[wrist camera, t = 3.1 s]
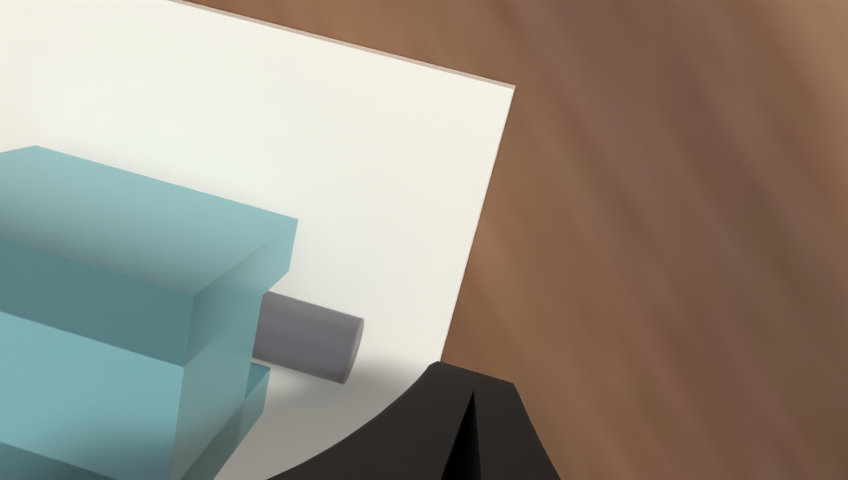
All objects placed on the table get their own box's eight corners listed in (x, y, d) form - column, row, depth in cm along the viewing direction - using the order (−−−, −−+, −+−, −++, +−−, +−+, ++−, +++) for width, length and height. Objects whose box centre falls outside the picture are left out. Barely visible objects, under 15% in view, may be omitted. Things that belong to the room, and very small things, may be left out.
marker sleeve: (262, 412, 13) (158, 552, 9) (26, 339, 13) (-160, 447, 10) (298, 219, 11) (193, 295, 8) (35, 145, 12) (-173, 187, 8)
